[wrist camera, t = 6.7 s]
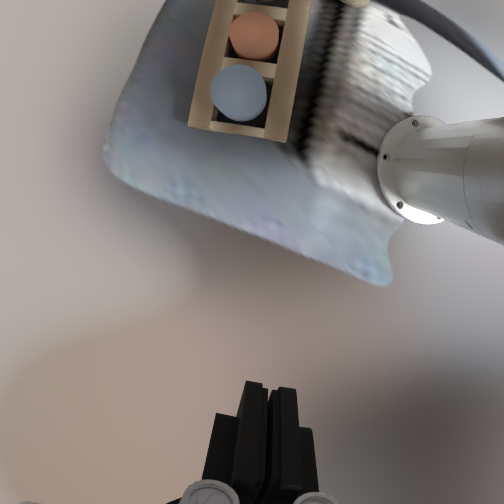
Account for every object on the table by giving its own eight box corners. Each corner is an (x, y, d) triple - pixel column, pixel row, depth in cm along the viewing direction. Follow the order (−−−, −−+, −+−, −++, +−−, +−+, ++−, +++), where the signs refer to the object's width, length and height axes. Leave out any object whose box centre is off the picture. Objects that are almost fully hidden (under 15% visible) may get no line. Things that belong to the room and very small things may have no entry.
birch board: (313, -16, 27) (316, -28, 24) (285, 142, 33) (286, 141, 30) (230, -27, 27) (227, -39, 24) (194, 128, 33) (187, 125, 30)
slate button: (270, 79, 28) (270, 68, 24) (262, 125, 30) (260, 119, 26) (222, 73, 28) (215, 61, 24) (213, 117, 30) (205, 111, 26)
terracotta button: (281, 30, 29) (282, 15, 25) (274, 67, 30) (274, 56, 26) (238, 24, 29) (234, 9, 25) (230, 61, 30) (224, 49, 26)
